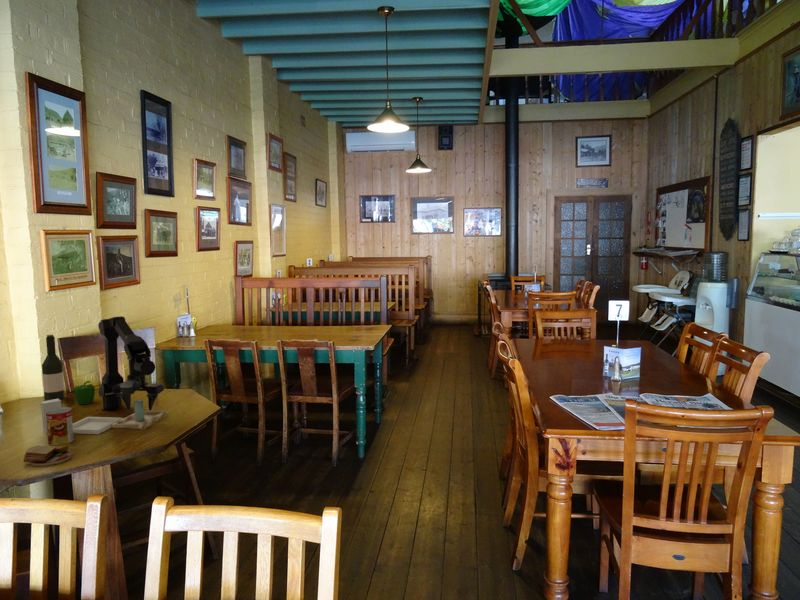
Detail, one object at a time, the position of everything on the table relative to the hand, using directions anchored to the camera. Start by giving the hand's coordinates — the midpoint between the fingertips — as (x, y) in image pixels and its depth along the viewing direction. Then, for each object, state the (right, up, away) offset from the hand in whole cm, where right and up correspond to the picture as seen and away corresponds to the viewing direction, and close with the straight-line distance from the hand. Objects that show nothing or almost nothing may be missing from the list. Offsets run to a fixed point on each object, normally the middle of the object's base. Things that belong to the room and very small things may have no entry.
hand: (139, 409), depth 227 cm
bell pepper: (-38, -3, +29) cm, 47 cm away
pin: (0, -4, 0) cm, 5 cm away
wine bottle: (-56, -2, +36) cm, 66 cm away
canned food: (-18, -8, -22) cm, 30 cm away
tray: (0, -5, +1) cm, 5 cm away
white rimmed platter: (-15, -6, -6) cm, 17 cm away
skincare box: (-29, -7, -10) cm, 31 cm away
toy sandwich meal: (-12, -10, -39) cm, 42 cm away
